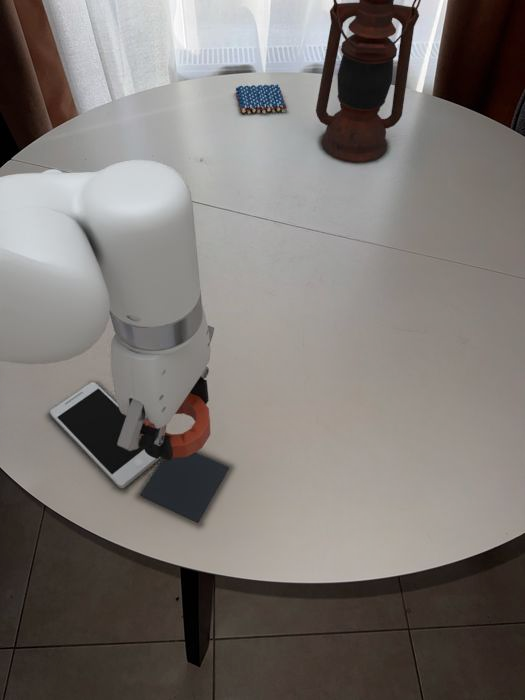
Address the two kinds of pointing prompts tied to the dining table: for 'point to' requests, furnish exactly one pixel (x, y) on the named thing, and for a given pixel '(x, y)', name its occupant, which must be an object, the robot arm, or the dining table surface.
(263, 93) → the blue beaded mat
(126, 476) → the smartphone
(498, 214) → the dining table surface
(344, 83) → the lantern
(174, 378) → the robot arm
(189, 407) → the ring
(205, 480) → the coaster
